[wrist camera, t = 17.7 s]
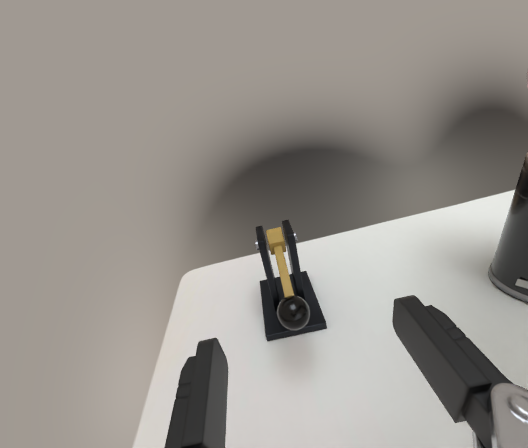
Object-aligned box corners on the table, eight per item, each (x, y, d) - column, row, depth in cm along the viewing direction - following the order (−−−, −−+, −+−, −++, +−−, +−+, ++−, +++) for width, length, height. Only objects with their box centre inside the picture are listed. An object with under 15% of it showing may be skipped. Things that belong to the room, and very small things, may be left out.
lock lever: (314, 331, 26) (313, 317, 24) (282, 338, 26) (278, 324, 24) (287, 239, 37) (284, 222, 34) (264, 244, 37) (260, 228, 34)
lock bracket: (326, 328, 35) (317, 246, 28) (267, 341, 35) (243, 262, 28) (306, 275, 46) (296, 206, 39) (261, 285, 46) (242, 218, 39)
